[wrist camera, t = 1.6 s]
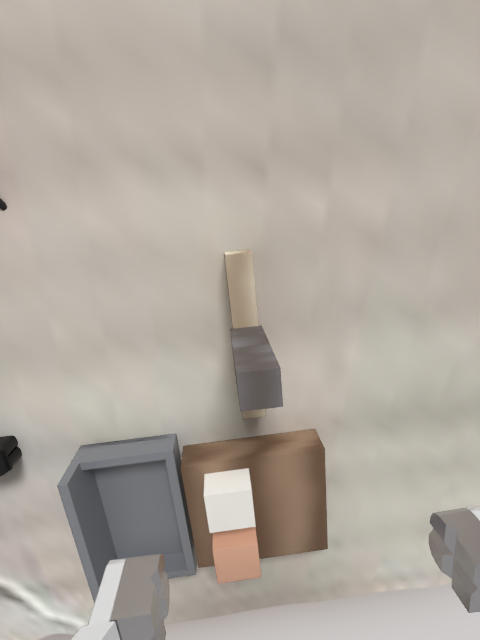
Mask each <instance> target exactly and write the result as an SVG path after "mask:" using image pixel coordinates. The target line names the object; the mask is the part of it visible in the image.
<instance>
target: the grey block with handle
mask: <svg viewBox="0 0 480 640" xmlns="http://www.w3.org/2000/svg"><path fill="white" fill-rule="evenodd" d="M224 255H225V264H226V273H227V282H228V291H229V300H230V309H231V318H232V327H233V329H230V332H231V341H232V350H233V358H234V366H235V373H236V380H237V388H238V395H239V402H240V410H241V412H242V414H243V419H247V418H255V417H263V416H266V409H267V408H275V407H283V399H282V385H281V371H280V366H279V364H278V361H277V359H276V357H275V355H274V352H273V350H272V348H271V346H270V344H269V341H268V339H267V337H266V335H265V332H264V330H263V328H262V326H258V316H257V305H256V293H255V282H254V270H253V258H252V252H251V251H249V250H239V251H230V252H224Z"/></svg>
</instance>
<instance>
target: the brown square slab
mask: <svg viewBox="0 0 480 640" xmlns="http://www.w3.org/2000/svg"><path fill="white" fill-rule="evenodd" d="M246 468H249V474H250V481H251V488H252V497H253V506H254V515H255V524H256V527H255V528H256V536H257V543H258V552H259V559H262V558H269V557H276V556H283V555H289V554H296V553H303V552H310V551H317V550H324V549H328V545H327V511H326V477H325V448H324V446H323V444H322V442H321V440H320V438H319V436H318V434H317V432H316V430H315V429H310V430H303V431H295V432H287V433H280V434H272V435H264V436H257V437H249V438H241V439H234V440H226V441H218V442H211V443H203V444H195V445H188V446H183V453H182V461H181V473H182V479H183V484H184V490H185V495H186V501H187V506H188V512H189V517H190V523H191V528H192V534H193V539H194V545H195V550H196V556H197V561H198V567H199V568H200V567H207V566H214V565H215V563H214V557H213V533H210V532H209V526H208V520H207V514H206V507H205V501H204V474H209V473H216V472H224V471H231V470H238V469H246Z"/></svg>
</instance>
